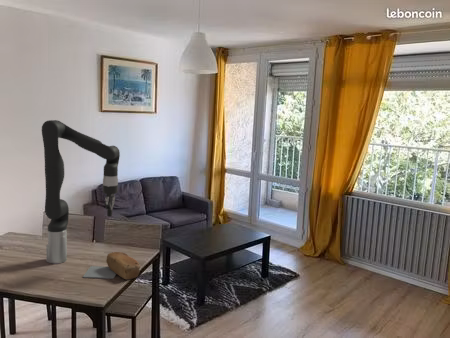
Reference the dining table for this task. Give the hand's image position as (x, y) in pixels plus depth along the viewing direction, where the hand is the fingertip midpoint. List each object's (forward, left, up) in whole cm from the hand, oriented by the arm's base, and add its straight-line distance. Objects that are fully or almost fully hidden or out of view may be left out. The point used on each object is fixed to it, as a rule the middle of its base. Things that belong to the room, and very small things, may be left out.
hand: (109, 216), depth 198 cm
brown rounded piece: (+3, -2, -22) cm, 22 cm away
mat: (-1, -11, -27) cm, 29 cm away
